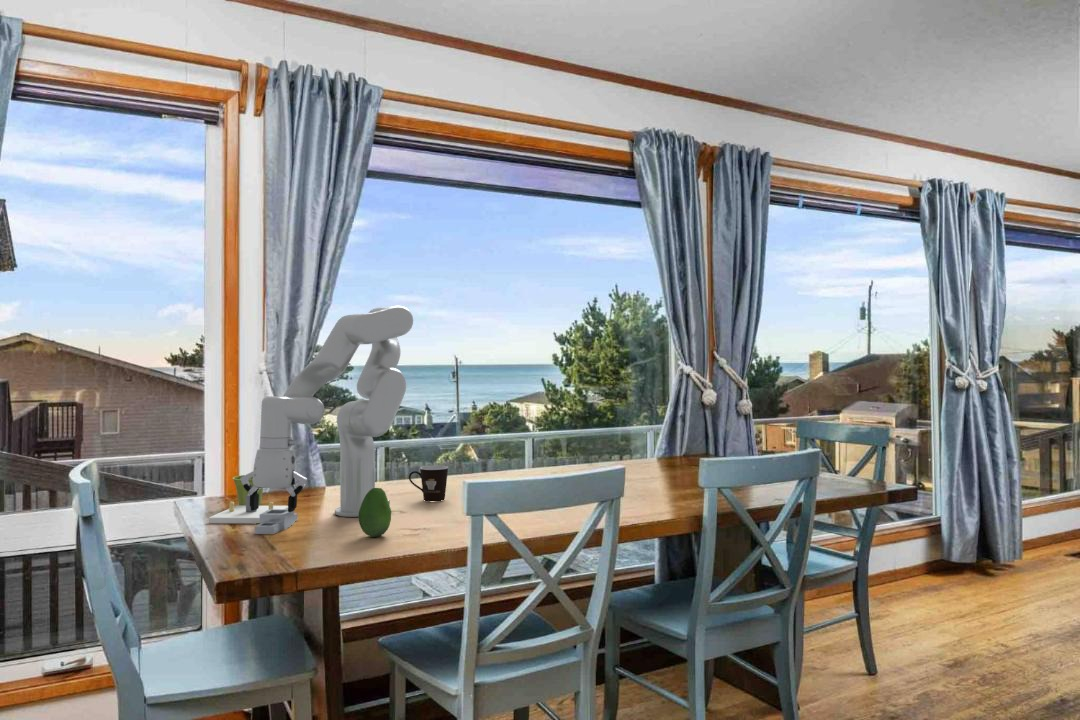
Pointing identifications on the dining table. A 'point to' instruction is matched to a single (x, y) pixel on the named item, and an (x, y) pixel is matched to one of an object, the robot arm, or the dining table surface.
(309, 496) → the dining table surface
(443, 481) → the coffee mug
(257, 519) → the post block
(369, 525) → the avocado
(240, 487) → the plant pot
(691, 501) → the dining table surface
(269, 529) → the bracket
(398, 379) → the robot arm
